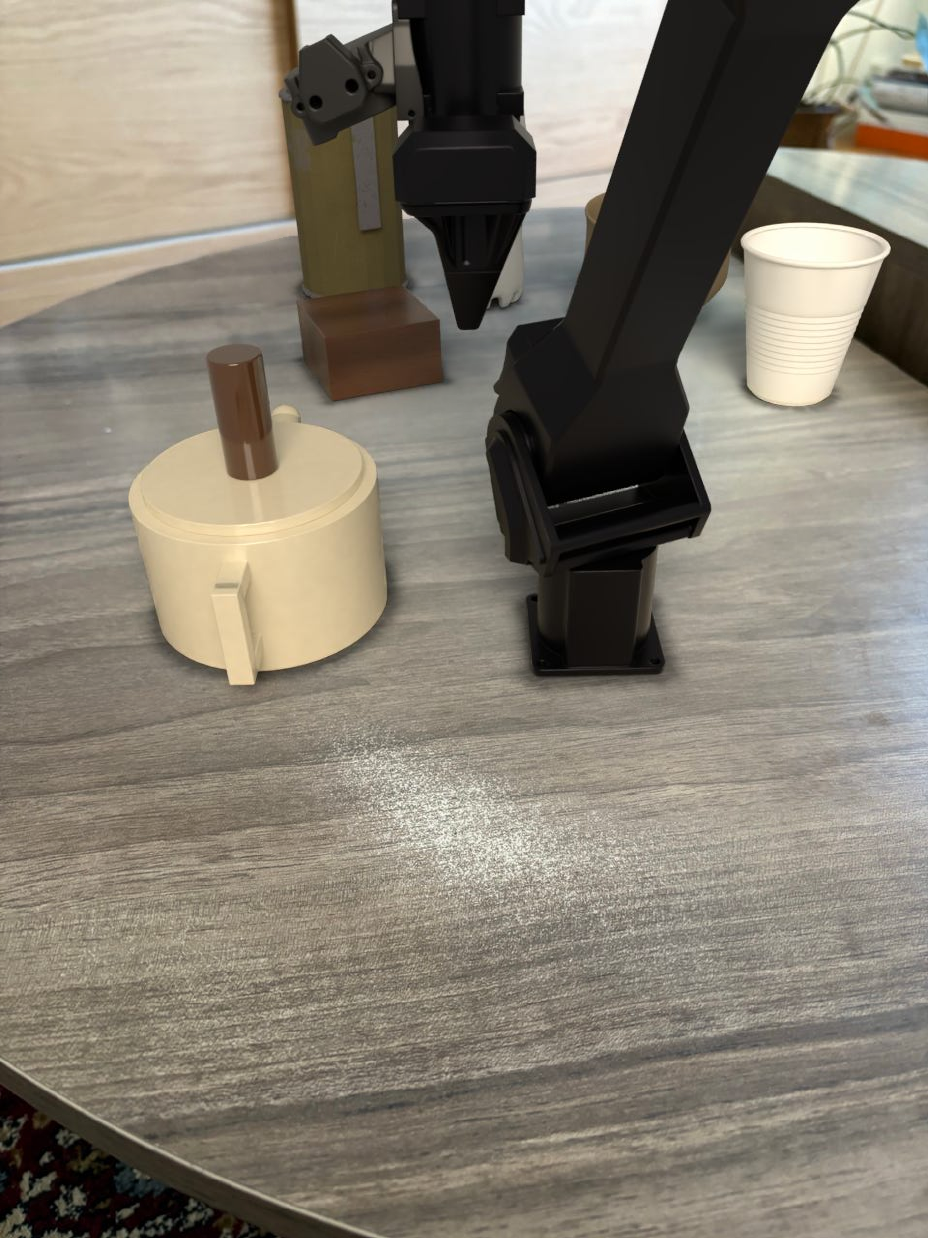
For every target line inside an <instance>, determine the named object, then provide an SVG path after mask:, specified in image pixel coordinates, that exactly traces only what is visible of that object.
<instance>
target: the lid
mask: <svg viewBox="0 0 928 1238" xmlns="http://www.w3.org/2000/svg"><path fill="white" fill-rule="evenodd" d="M204 359H205V365H206V370H207V374H208V380H209V387H210V391H211V398H212V402H213V407H214V412H215V418H216V424H217V428H215V429H210V430H208V431H204V432H201V433H198V434H195V435H193V436H190V437H188V438H185V439H183V440H181V441H179V442H177V443H174V444H173V445H171V446H170V447H168V448H167V449H165V450H163V451H162V452H160V453H159V454H158V455H157V456H156V457H154V459H152V460H151V462H149V463H148V464H147V465H148V466H147V465H146V466H147V468H146V469H145V471H144V473H143V475H142V478H141V482H140V489H141V493H142V497H143V501H144V504H145V506H146V507H147V509H148V510H149V512H150V513H151V514H152V515H153V516H154V517H156V518H157V519H159V520H160V521H162V522H163V523H165V524H167V525H170V526H172V527H174V528H177V529H180V530H183V531H188V532H192V533H197V534H204V535H212V536H246V535H258V534H264V533H271V532H276V531H280V530H285V529H289V528H293V527H296V526H299V525H303V524H305V523H308V522H311V521H313V520H316V519H318V518H320V517H322V516H324V515H326V514H328V513H330V512H332V511H333V510H335V509H337V508H338V507H340V506H341V505H342V504H344V503H345V502H346V501H347V500H348V499H349V498H350V497H351V496H353V495H354V493H355V492H356V491H357V489H358V488H359V486H360V484H361V481H362V478H363V462H362V456H361V454H360V451H359V450H358V448H357V447H356V446H355V445H354V444H353V443H352V442H351V441H350V440H351V439H350V438H348V437H346V436H344V435H343V434H341V433H340V432H339V433H338V432H336V431H334V430H332V429H329V428H326V427H322V426H318V425H314V424H309V423H304V422H303V423H302V422H301V423H295V422H272V417H271V414H272V411H271V404H270V397H269V391H268V385H267V377H266V371H265V364H264V357H263V351H262V350H261V349H260V348H259V347H258V346H256V345H253V344H250V343H249V344H248V343H229V344H225V345H221V346H218V347H215V348H213V349H211V350H209V351H208V352H207V353H206V354H205V358H204ZM347 438H348V439H347ZM349 439H350V440H349Z"/></svg>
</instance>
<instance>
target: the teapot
mask: <svg viewBox="0 0 928 1238" xmlns="http://www.w3.org/2000/svg"><path fill="white" fill-rule="evenodd" d="M271 417H272V422H295V423H302V416H301V413H300V411H299V410H298V409H297V408H296V407H295V406H293V405H292V404H291V405H290V404H287V403H285V404H280V405H278V406H276V407H275V408H274V409H273V410H272V411H271ZM346 438H347V439H349V440H350V441H351V442H352V443H353V444H354V445H355V446H356V447H357V448H358V450H359V451H360V454H361V456H362V462H363V478H362V481H361V484H360V486H359V488H358V489H357V491H356V492H355V493H354V495H353V496H351V497H350V498H349V499H348V500H347V501H346V502H345V503H344V504H342V505H341V506H340V507H338V508H337V509H335V510H333V511H332V512H330V513H328V514H326V515H324V516H322V517H320V518H318V519H316V520H313V521H311V522H308V523H305V524H303V525H299V526H296V527H293V528H289V529H285V530H280V531H276V532H271V533H264V534H258V535H246V536H212V535H204V534H197V533H192V532H188V531H183V530H180V529H177V528H174V527H172V526H170V525H167V524H165V523H163V522H162V521H160V520H159V519H157V518H156V517H154V516H153V515H152V514H151V513H150V512H149V510H148V509H147V507H146V506H145V504H144V501H143V497H142V493H141V489H140V482H141V478H142V475H143V473H144V471H145V469H146V468H147V466H148V465H149V464H147V465H145V467H144V468H143V469H142V470H141V471H140V472H138V474H137V475H136V476H135V478H134V480H133V481H132V484H131V485H130V488H129V490H128V497H127V500H128V507H129V512H130V515H131V519H132V523H133V527H134V530H135V534H136V538H137V542H138V546H139V550H140V554H141V558H142V562H143V565H144V571H145V573H146V574H145V575H146V577H147V581H148V585H149V589H150V593H151V597H152V601H153V604H154V609H155V612H156V617H157V619H158V624H159V628H160V630H161V632H162V635H163V637H164V638H165V639H166V641H167V642H168V644H169V645H170V646H171V647H172V648H173V649H174V650H176V651H177V652H178V653H179V654H181V655H183V656H184V657H186V658H188V659H190V660H191V661H194V662H196V663H198V664H202V665H205V666H208V667H211V668H216V669H221V670H226V674H227V678H228V684H229V685H230V686H253V685H254V686H255V684H256V680H257V676H258V673H259V672H270V671H278V670H285V669H291V668H296V667H300V666H304V665H308V664H311V663H314V662H317V661H320V660H324V659H325V658H329V657H330V656H333V655H335V654H337V653H338V652H341V651H343V650H345V649H347V648H349V647H350V646H351V645H353V644H354V643H356V642H357V641H359V640H360V639H361V638H362V637H364V636H365V635H366V634H367V633H368V632H369V631H370V630H371V629H373V627H374V626H375V625H376V624H377V622H378V621H379V619H380V618H381V616H382V615H383V612H384V610H385V608H386V605H387V601H388V600H387V599H388V583H387V571H386V558H385V547H384V535H383V523H382V522H383V521H382V511H381V502H380V501H381V499H380V488H379V477H378V476H379V475H378V469H377V464H376V462H375V460H374V458H373V457H372V455H371V454H370V453H369V452H368V451H367V450H366V449H365V448H364V447H363V446H361V445H360V444H359V443H357V442H355V441H354V440H352V439H350V438H348V437H346Z"/></svg>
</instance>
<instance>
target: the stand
mask: <svg viewBox="0 0 928 1238" xmlns="http://www.w3.org/2000/svg"><path fill="white" fill-rule="evenodd" d="M296 308H297V317H298V325H299V332H300V340H301V349H302V356H303V361H304V362H305V364H306V365H307V367H308V368H309V370H310V371H311V373H312V374H313V375H314V377H315V379H316V380H317V382H318V383H319V385H320V386H321V387H322V389H323V390H324V392H325V393H326V395H327V397H328V398H329V400H330V401H332V402H334V401H340V400H346V399H351V398H352V399H353V398H359V397H362V396H368V395H374V394H381V393H385V392H391V391H396V390H397V391H398V390H402V389H409V388H413V387H414V388H415V387H419V386H426V385H430V384H437V383H442V382H443V363H442V362H443V361H442V338H441V336H442V335H441V318H439V317H438V316H437V315H435V313H434V312H433V311H431V310H430V309H429V308H428V307H427V306H426V305H425V304H424V303H423V302H422V301H421V300H420V299H419V298H417V297H416V296H415V295H414V294H413V292H411V290H409V289H408V287H406V288H405V287H404V286H403V285H399V286H392V287H385V288H378V289H372V290H365V291H358V292H351V293H344V294H338V295H331V296H324V297H317V298H310V297H309V298H305V299H298V300H296Z"/></svg>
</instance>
